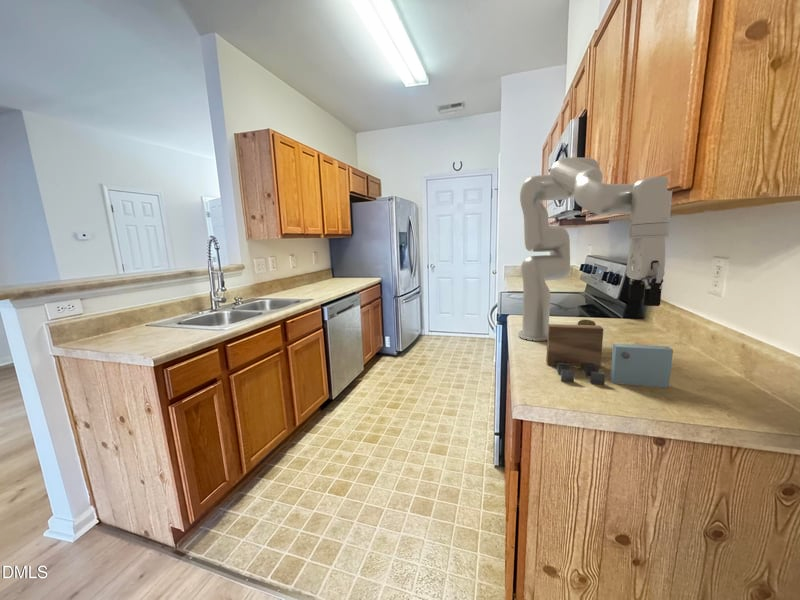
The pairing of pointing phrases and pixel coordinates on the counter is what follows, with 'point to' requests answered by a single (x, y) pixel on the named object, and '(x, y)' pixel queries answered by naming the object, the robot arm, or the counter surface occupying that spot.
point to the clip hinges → (588, 369)
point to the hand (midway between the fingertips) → (643, 302)
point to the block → (641, 365)
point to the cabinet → (574, 344)
